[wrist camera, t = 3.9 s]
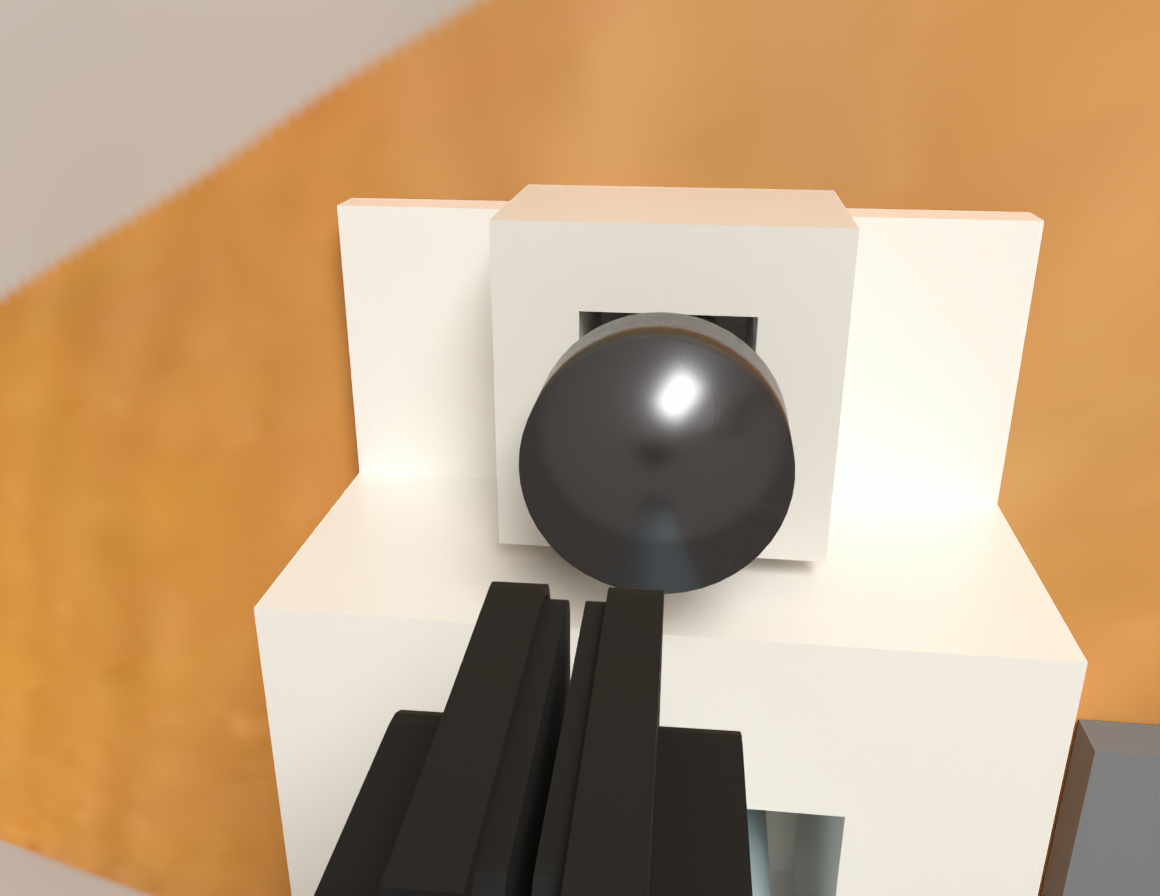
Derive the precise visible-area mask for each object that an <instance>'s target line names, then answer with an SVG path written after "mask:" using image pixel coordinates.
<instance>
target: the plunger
mask: <svg viewBox="0 0 1160 896" xmlns="http://www.w3.org/2000/svg"><path fill="white" fill-rule="evenodd" d="M519 476H520V485H521V489H522V493H523V497H524V501H525V503H526V506H527V508H528V511H529V514H530V516H531V518H532V519H533V521H534V523H535V525H536V527H537V529H538V530H539V531H540V533H541V534H542V536H543V537H544V538H545V540H546V541H547V542H548V543H549V545H550V546H551V547H552V548H553V549H554V550H555V551H556V552H557V553H558V554H559V555H560V556H561V557H562V558H564V559H565V560H566V561H567V562H568V563H570V564H571V565H572V566H574V567H575V568H577V569H578V570H580V571H581V572H583V573H584V574H586V575H588V576H590V577H592V578H594V579H596V580H598V581H600V582H602V583H605V584H608V585H610V586H613V587H616V588H634V589H653V590H664V594H673V593H682V592H688V591H692V590H697V589H701V588H704V587H707V586H710V585H713V584H715V583H718V582H720V581H722V580H724V579H726V578H728V577H730V576H732V575H734V574H735V573H737V572H738V571H740V570H741V569H743V568H744V567H746V566H747V565H748V564H750V563H751V562H752V561H753V560H754V559H755V558H756V557H758V556H759V555H760V554H761V553H762V551H763V550H764V549H765V548H766V547H767V546H768V545H769V543H770V542H771V541H772V540H773V538H774V536H775V535H776V533H777V532H778V530H779V529H780V527H781V525H782V523H783V521H784V519H785V517H786V515H787V512H788V509H789V506H790V503H791V500H792V496H793V490H794V483H795V458H794V450H793V444H792V438H791V432H790V427H789V421H788V415H787V410H786V406H785V403H784V399H783V396H782V393H781V391H780V388H779V386H778V384H777V382H776V379H775V378H774V376H773V375H772V373H771V371H770V370H769V368H768V367H767V365H766V364H765V363H764V362H763V360H762V359H761V358H760V357H759V356H758V354H757V353H756V352H755V351H754V350H753V349H752V348H750V347H749V346H748V345H747V344H746V343H745V342H744V341H743V340H741V339H740V338H738V337H737V336H735V335H734V334H733V333H731V332H730V331H728V330H726V329H724V328H722V327H720V326H718V324H717V322H716V320H715V319H714V317H713V316H710V315H684V314H678V313H668V312H652V313H634V314H633V315H629V316H626V317H622V318H619V319H616V320H613V321H610V322H608V323H606V324H604V325H601V326H599V327H597V328H595V329H594V330H592V331H591V332H589V333H587V334H586V335H584V336H583V337H582V338H580V339H579V340H578V341H577V342H575V343H574V344H573V345H572V346H571V347H570V348H569V349H568V350H567V351H566V352H565V353H564V354H563V355H562V356H561V357H560V358H559V360H558V361H557V363H556V364H555V366H554V367H553V368H552V370H551V371H550V373H549V375H548V377H547V379H546V381H545V383H544V385H543V387H542V389H541V391H540V394H539V396H538V398H537V400H536V402H535V404H534V406H533V409H532V411H531V413H530V415H529V417H528V420H527V423H526V425H525V428H524V431H523V434H522V439H521V445H520V450H519Z"/></svg>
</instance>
